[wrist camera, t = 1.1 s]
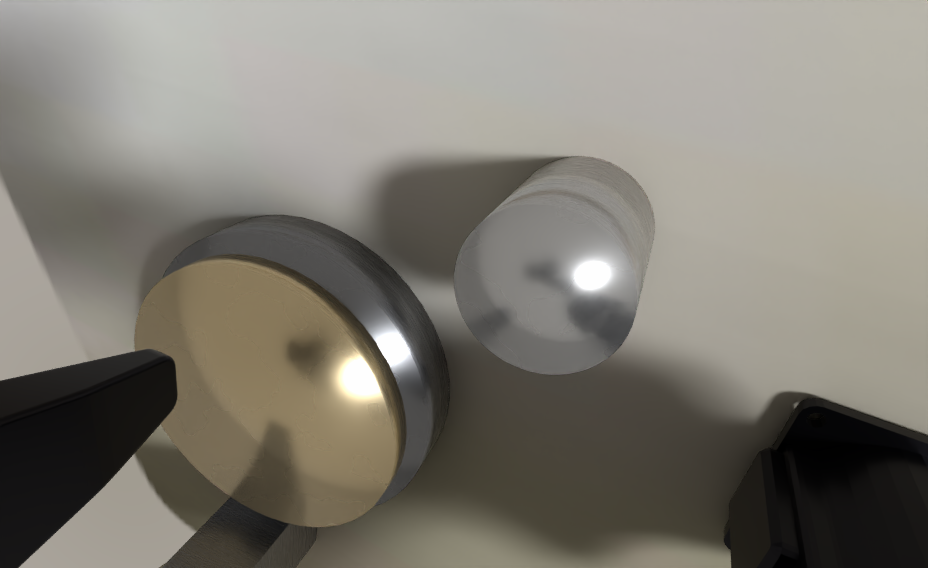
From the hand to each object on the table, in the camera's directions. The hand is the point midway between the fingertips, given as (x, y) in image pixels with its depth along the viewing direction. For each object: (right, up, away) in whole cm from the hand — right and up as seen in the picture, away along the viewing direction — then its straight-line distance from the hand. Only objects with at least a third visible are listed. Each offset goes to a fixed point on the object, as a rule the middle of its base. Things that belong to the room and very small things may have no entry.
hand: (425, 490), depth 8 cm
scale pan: (-7, -1, +14) cm, 16 cm away
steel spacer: (+4, +5, +10) cm, 12 cm away
